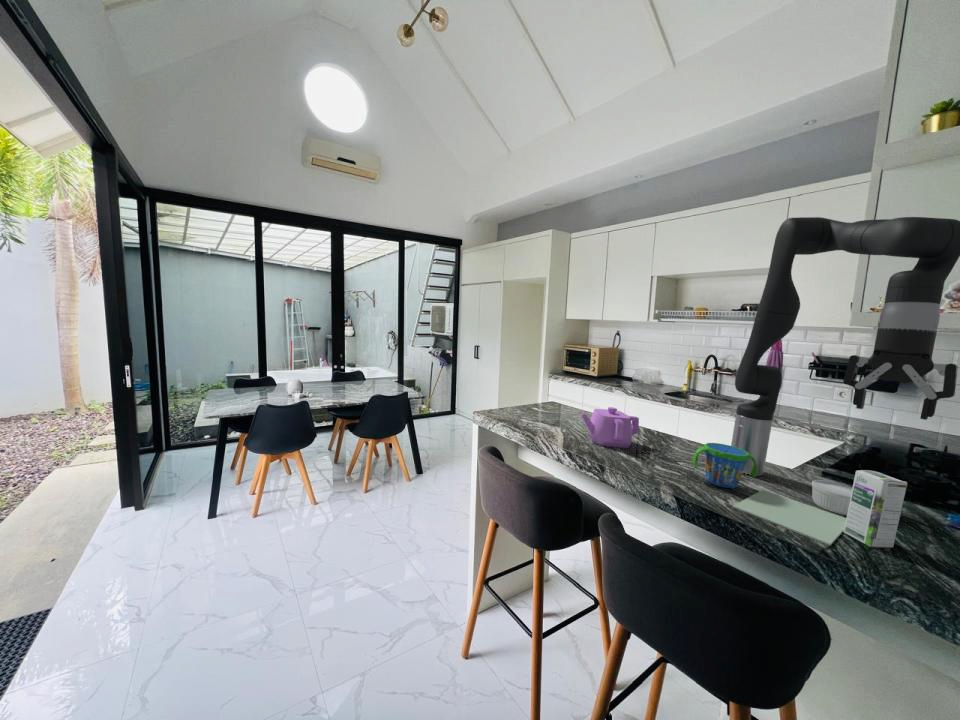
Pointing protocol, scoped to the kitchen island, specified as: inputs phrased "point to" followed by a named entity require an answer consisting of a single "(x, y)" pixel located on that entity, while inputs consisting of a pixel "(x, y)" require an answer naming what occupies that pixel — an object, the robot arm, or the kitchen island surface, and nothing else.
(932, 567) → the kitchen island surface
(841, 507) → the ramekin
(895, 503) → the syrup box
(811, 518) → the mat
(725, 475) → the snack cup
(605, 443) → the teakettle
